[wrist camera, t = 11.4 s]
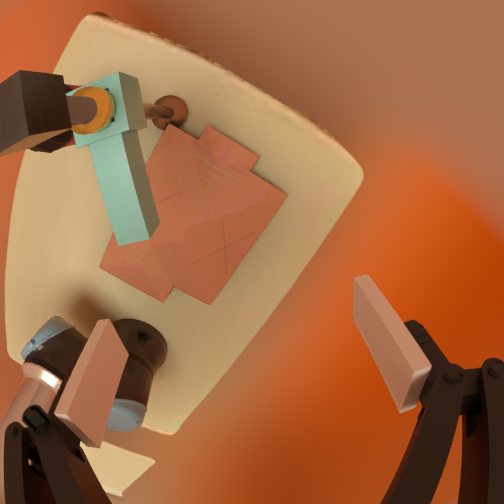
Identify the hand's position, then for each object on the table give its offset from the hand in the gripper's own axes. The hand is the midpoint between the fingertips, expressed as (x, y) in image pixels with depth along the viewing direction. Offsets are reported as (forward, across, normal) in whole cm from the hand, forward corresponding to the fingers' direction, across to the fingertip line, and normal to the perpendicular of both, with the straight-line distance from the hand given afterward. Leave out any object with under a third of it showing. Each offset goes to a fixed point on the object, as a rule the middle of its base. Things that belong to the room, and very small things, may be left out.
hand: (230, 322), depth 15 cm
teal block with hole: (+15, +8, -9) cm, 19 cm away
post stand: (+39, +8, -13) cm, 42 cm away
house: (+39, +9, +7) cm, 41 cm away
